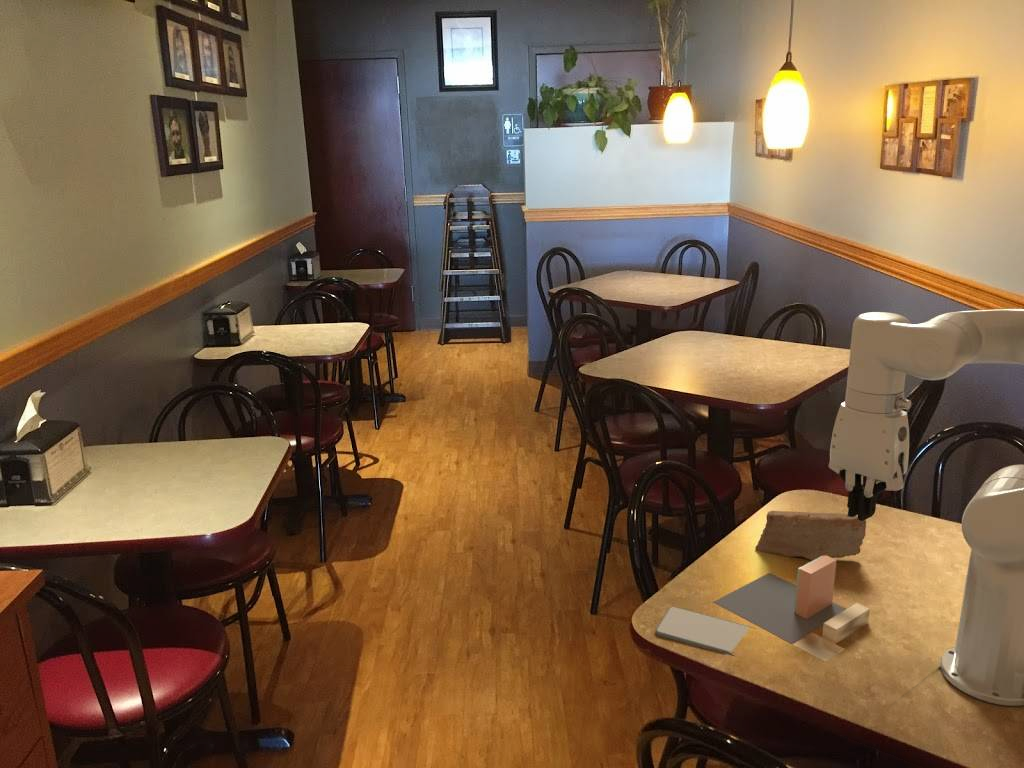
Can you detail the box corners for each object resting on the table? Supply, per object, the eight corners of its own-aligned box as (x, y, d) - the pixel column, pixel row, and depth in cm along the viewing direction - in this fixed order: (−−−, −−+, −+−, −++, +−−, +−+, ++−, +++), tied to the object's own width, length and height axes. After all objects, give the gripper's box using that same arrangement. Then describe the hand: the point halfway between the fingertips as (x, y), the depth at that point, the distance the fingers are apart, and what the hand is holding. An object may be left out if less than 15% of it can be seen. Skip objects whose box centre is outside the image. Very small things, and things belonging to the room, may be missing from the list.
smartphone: (752, 658, 123) (653, 631, 130) (751, 664, 123) (653, 636, 130) (763, 629, 130) (670, 604, 137) (763, 634, 131) (669, 609, 137)
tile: (832, 603, 137) (836, 559, 134) (806, 618, 133) (810, 573, 130) (818, 597, 139) (823, 554, 136) (793, 612, 135) (797, 567, 132)
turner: (845, 614, 134) (847, 598, 134) (877, 630, 130) (879, 613, 129) (792, 647, 126) (794, 630, 126) (825, 664, 122) (827, 647, 121)
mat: (847, 611, 135) (847, 609, 135) (791, 645, 127) (791, 643, 126) (769, 574, 147) (769, 572, 147) (712, 603, 138) (713, 601, 138)
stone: (755, 547, 157) (755, 560, 153) (755, 504, 153) (754, 516, 149) (863, 554, 151) (864, 567, 148) (865, 510, 147) (867, 522, 144)
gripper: (939, 407, 116) (923, 527, 122) (840, 382, 128) (828, 493, 133) (911, 418, 112) (895, 542, 117) (811, 392, 124) (800, 506, 129)
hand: (860, 515), depth 125 cm, fingers closed
